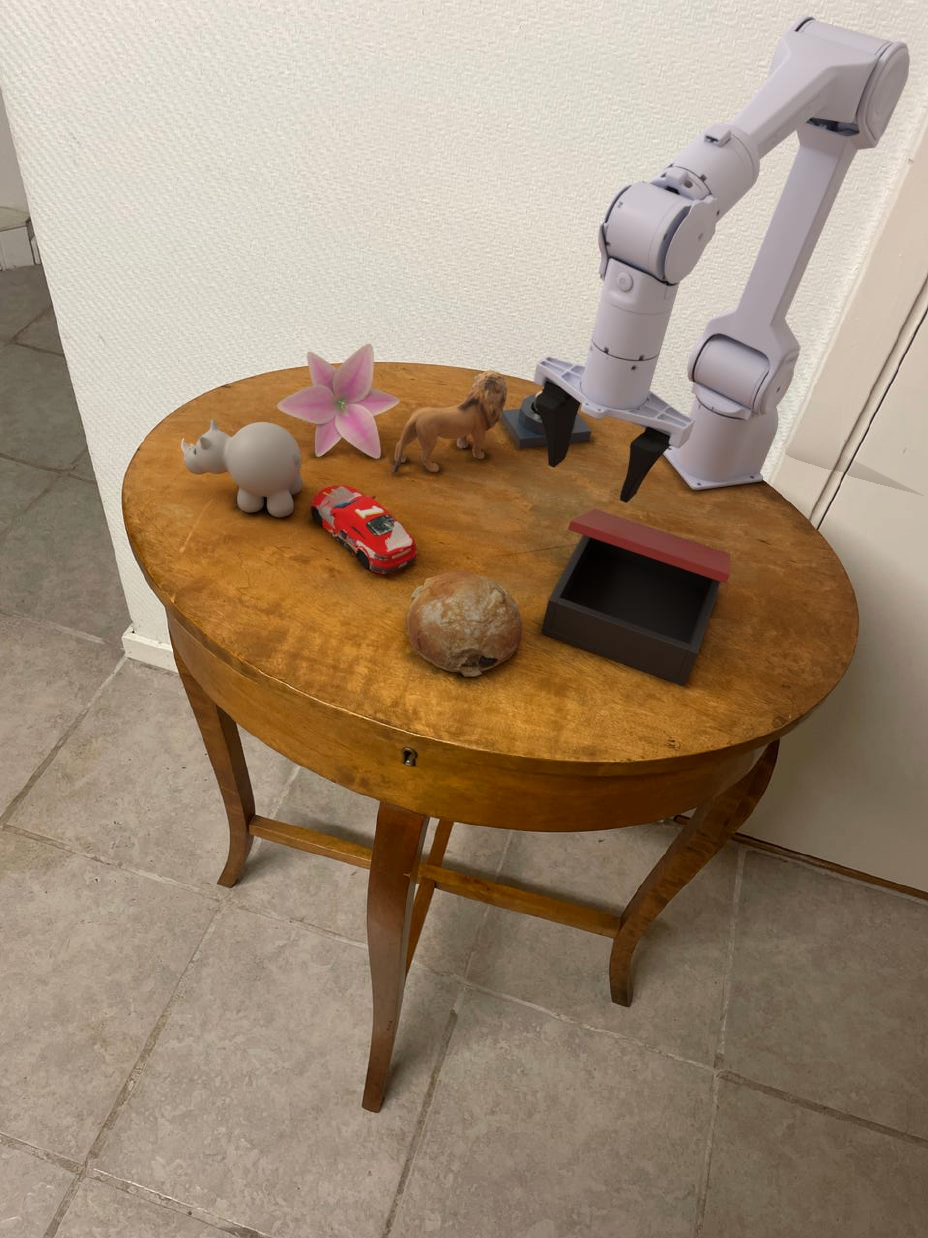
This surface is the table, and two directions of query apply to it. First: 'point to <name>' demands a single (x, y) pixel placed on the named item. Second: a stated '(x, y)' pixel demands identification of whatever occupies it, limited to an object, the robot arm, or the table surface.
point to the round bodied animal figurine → (251, 464)
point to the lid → (654, 544)
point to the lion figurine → (456, 420)
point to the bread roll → (463, 622)
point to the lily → (341, 402)
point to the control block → (536, 426)
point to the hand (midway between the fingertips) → (591, 478)
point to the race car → (364, 528)
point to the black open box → (631, 609)
